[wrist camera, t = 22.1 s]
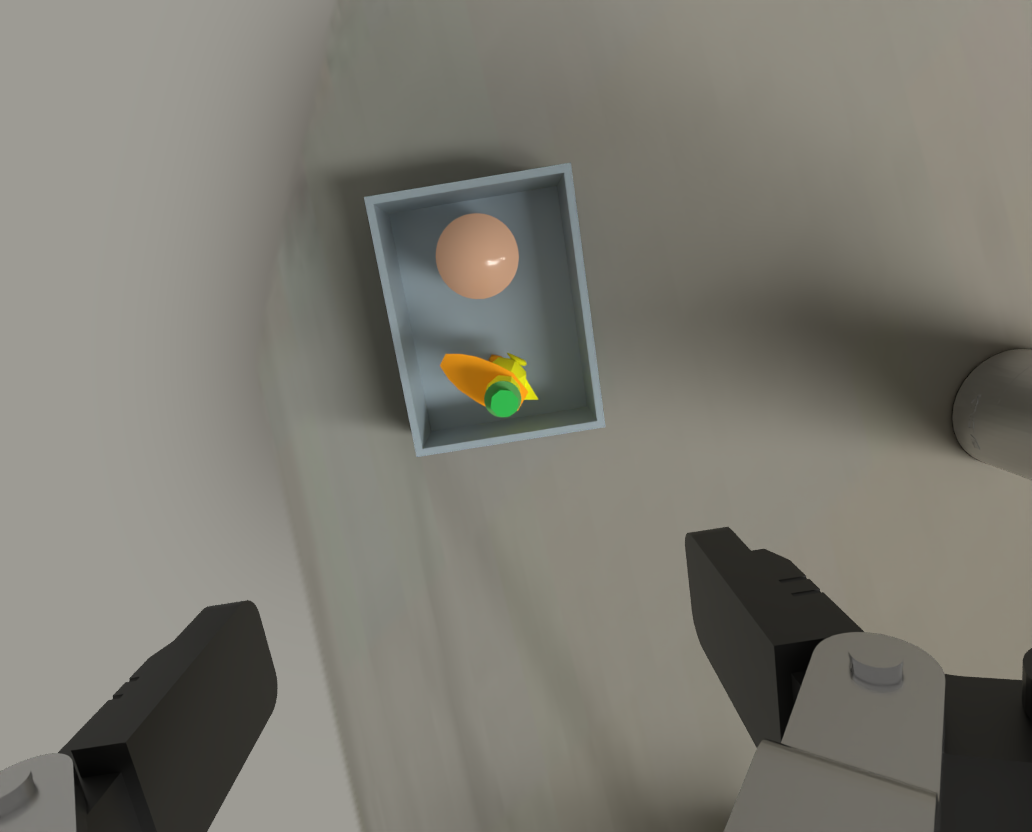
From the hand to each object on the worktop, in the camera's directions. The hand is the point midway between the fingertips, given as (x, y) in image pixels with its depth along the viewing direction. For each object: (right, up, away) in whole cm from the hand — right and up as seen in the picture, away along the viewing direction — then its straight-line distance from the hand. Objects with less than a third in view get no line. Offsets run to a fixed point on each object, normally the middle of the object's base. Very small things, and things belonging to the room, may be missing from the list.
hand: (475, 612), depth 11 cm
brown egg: (-2, +15, +32) cm, 35 cm away
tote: (-1, +11, +33) cm, 35 cm away
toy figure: (-1, +7, +34) cm, 35 cm away
